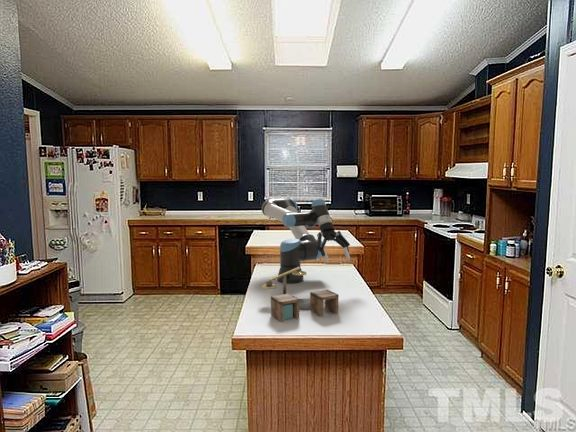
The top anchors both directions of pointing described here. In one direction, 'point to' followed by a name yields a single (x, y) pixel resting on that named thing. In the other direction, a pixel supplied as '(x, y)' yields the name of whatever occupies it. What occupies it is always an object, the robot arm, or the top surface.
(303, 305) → the dish
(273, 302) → the cover
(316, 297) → the cover
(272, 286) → the balance
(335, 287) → the top surface
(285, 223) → the robot arm
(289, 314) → the block
